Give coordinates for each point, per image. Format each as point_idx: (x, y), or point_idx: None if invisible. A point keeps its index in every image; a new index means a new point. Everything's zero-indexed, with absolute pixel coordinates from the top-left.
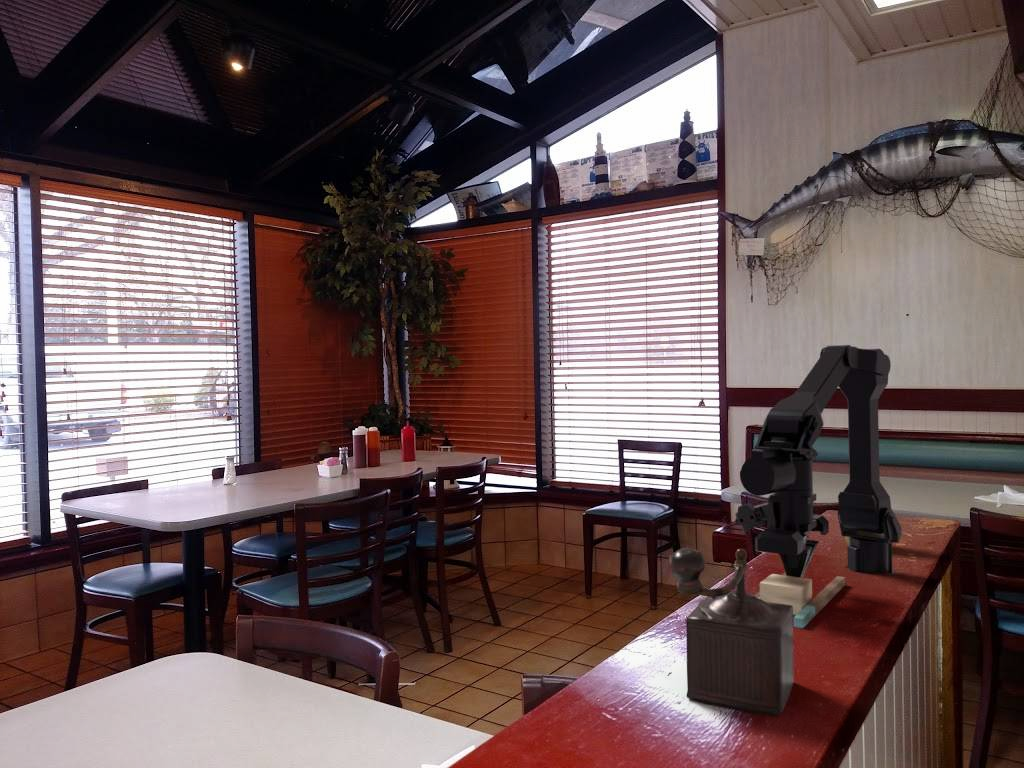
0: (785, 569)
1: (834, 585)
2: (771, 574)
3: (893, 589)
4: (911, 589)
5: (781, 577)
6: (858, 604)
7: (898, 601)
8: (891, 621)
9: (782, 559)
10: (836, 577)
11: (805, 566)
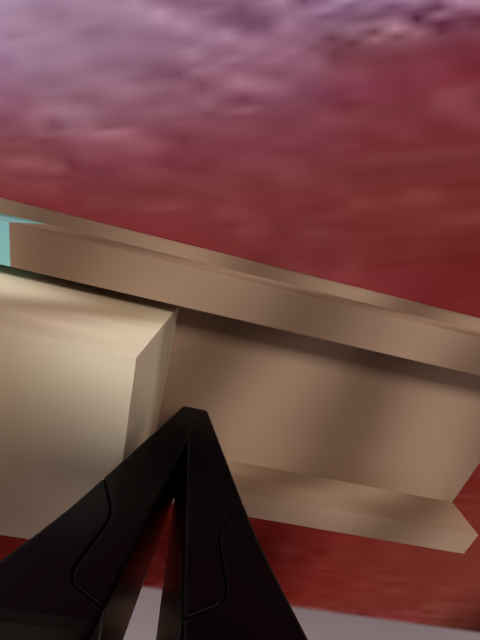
0: (115, 473)
1: (335, 527)
2: (115, 354)
3: (441, 596)
4: (444, 622)
5: (65, 418)
6: (271, 530)
7: (327, 598)
8: (145, 581)
9: (8, 564)
10: (455, 533)
11: (161, 600)
